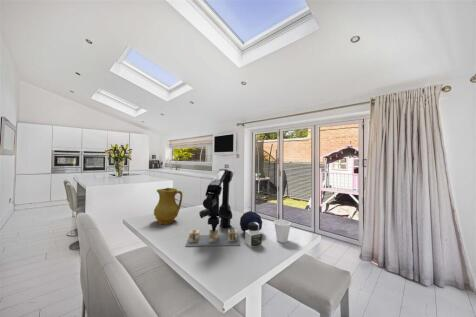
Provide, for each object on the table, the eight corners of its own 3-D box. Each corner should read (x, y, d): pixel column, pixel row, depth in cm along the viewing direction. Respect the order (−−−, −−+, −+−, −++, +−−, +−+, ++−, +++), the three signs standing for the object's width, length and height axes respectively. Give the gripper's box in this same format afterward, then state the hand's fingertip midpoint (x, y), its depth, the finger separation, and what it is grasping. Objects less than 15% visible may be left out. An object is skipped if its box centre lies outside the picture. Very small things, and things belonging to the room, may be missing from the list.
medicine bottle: (251, 248, 104) (251, 226, 104) (244, 242, 110) (245, 222, 110) (261, 245, 107) (262, 224, 107) (255, 240, 114) (255, 220, 113)
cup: (291, 238, 117) (291, 220, 117) (290, 245, 108) (290, 226, 108) (274, 236, 120) (275, 218, 120) (272, 242, 111) (272, 224, 111)
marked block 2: (236, 237, 116) (236, 229, 116) (236, 241, 111) (237, 232, 111) (227, 237, 115) (228, 229, 115) (228, 241, 110) (228, 232, 110)
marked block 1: (199, 238, 114) (199, 229, 114) (198, 242, 109) (198, 233, 109) (190, 238, 113) (190, 229, 113) (189, 242, 108) (189, 233, 108)
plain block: (217, 237, 115) (218, 229, 115) (217, 241, 110) (217, 232, 110) (209, 238, 114) (209, 229, 114) (208, 241, 109) (209, 233, 109)
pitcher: (161, 216, 153) (162, 185, 152) (183, 219, 150) (185, 188, 149) (148, 224, 136) (149, 190, 135) (172, 228, 133) (174, 192, 132)
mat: (237, 235, 120) (237, 234, 120) (240, 245, 106) (240, 244, 106) (189, 236, 118) (189, 235, 118) (185, 246, 104) (185, 245, 104)
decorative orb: (267, 223, 128) (254, 204, 131) (265, 231, 114) (250, 210, 116) (251, 234, 131) (238, 215, 134) (246, 243, 117) (232, 222, 119)
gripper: (201, 201, 121) (201, 225, 121) (198, 209, 102) (197, 238, 102) (219, 201, 122) (219, 225, 122) (219, 209, 103) (218, 237, 103)
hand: (213, 231), depth 112 cm, fingers closed, pressing on plain block
